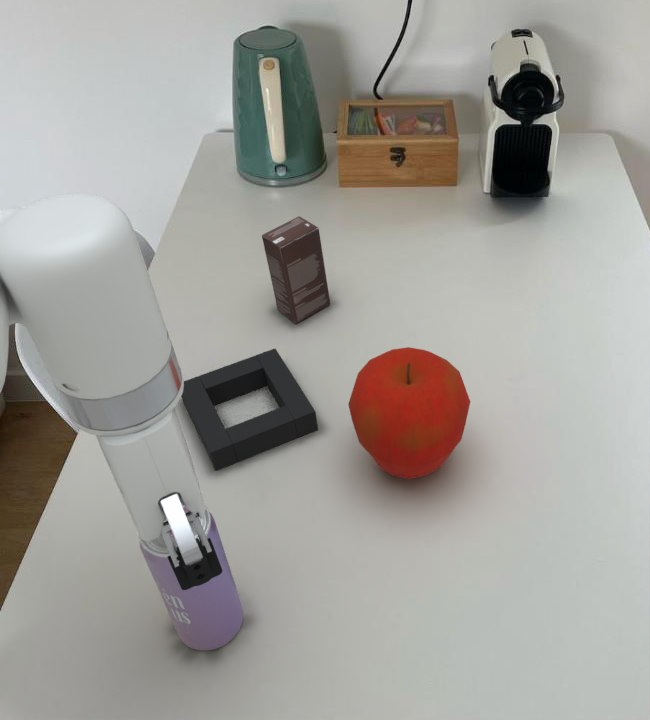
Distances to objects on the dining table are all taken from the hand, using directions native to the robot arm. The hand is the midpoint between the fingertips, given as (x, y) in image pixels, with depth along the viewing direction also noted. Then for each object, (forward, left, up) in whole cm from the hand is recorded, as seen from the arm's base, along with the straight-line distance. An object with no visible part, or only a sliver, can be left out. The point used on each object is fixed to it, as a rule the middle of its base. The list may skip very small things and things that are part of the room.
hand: (183, 532), depth 64 cm
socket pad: (+12, +23, -14) cm, 29 cm away
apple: (+25, +8, -14) cm, 29 cm away
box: (+25, +38, -14) cm, 47 cm away
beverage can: (0, 0, -14) cm, 14 cm away
